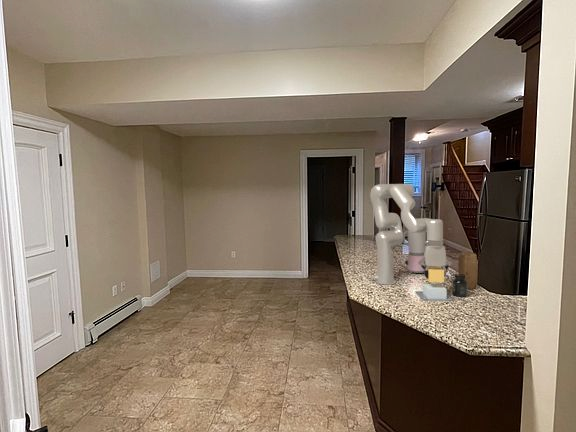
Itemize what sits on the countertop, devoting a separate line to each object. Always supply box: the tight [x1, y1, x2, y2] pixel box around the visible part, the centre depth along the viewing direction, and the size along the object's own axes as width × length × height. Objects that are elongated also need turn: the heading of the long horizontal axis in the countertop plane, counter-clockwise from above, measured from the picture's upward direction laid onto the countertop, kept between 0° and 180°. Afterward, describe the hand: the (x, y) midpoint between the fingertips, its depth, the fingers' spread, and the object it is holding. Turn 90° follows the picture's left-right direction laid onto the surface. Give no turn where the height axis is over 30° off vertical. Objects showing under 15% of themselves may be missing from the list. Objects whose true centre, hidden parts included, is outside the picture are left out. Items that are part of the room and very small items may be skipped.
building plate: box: [414, 290, 457, 302], centre depth 170 cm, size 16×16×2 cm
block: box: [457, 251, 478, 290], centre depth 188 cm, size 11×8×20 cm
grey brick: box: [422, 283, 448, 299], centre depth 170 cm, size 9×9×5 cm
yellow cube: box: [425, 266, 445, 283], centre depth 169 cm, size 7×7×6 cm
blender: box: [401, 229, 427, 275], centre depth 225 cm, size 16×12×32 cm
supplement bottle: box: [451, 273, 468, 299], centre depth 170 cm, size 7×7×12 cm
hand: (434, 277), depth 169 cm, fingers closed on yellow cube, 7 cm apart
